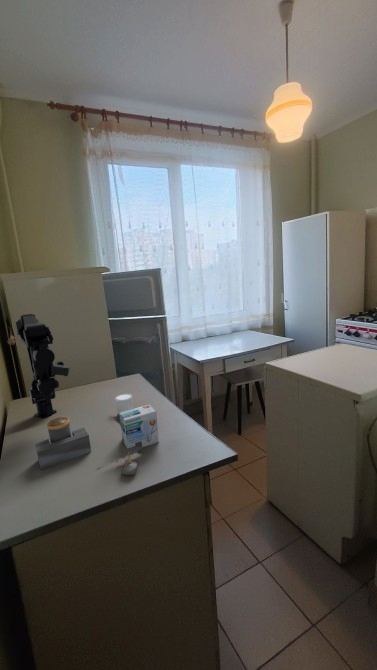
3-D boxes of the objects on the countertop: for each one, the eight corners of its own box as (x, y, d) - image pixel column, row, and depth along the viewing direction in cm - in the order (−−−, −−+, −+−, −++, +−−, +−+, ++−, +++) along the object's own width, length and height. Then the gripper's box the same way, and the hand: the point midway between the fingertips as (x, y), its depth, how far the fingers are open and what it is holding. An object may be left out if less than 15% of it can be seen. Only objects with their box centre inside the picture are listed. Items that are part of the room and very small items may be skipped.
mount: (31, 449, 96) (27, 429, 95) (81, 432, 105) (78, 414, 104) (38, 478, 82) (34, 455, 80) (96, 455, 90) (93, 434, 89)
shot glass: (130, 417, 114) (128, 400, 112) (113, 417, 115) (111, 400, 114) (136, 409, 120) (134, 393, 119) (121, 409, 122) (119, 393, 120)
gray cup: (50, 450, 92) (44, 421, 90) (71, 443, 96) (66, 414, 94) (53, 460, 87) (48, 429, 85) (76, 452, 90) (71, 422, 88)
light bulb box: (127, 453, 90) (123, 420, 88) (122, 442, 96) (118, 412, 94) (160, 442, 95) (157, 410, 93) (152, 433, 101) (149, 403, 99)
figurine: (138, 476, 79) (134, 454, 79) (121, 480, 78) (117, 458, 78) (137, 467, 84) (134, 446, 84) (122, 470, 83) (118, 450, 83)
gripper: (71, 360, 100) (78, 403, 103) (60, 351, 116) (66, 388, 119) (34, 367, 94) (43, 413, 97) (29, 357, 110) (36, 396, 113)
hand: (48, 401), depth 107 cm, fingers closed
